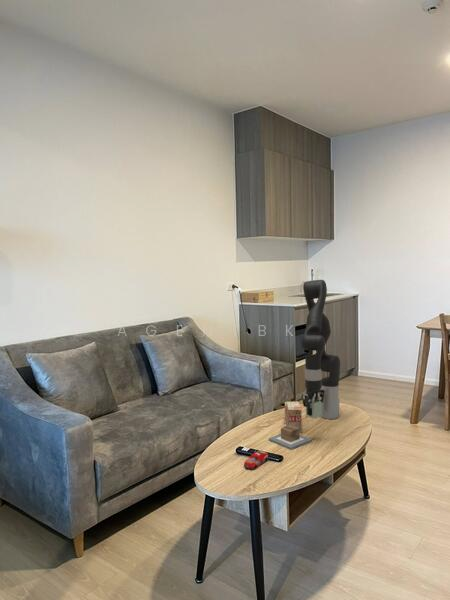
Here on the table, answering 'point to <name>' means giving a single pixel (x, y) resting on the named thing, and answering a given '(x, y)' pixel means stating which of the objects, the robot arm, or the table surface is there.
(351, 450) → the table surface
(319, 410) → the sage block
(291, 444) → the board
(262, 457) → the race car
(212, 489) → the table surface
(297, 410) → the stack of blocks
